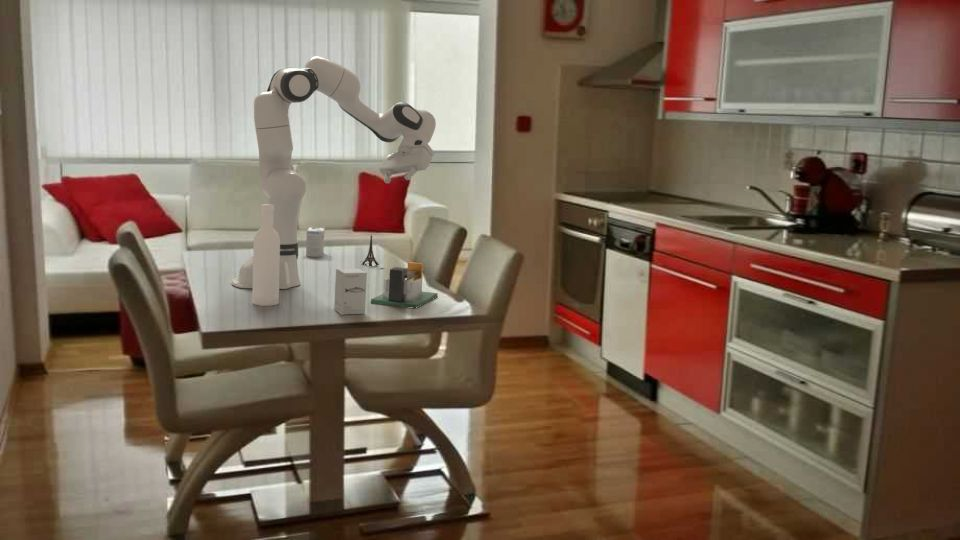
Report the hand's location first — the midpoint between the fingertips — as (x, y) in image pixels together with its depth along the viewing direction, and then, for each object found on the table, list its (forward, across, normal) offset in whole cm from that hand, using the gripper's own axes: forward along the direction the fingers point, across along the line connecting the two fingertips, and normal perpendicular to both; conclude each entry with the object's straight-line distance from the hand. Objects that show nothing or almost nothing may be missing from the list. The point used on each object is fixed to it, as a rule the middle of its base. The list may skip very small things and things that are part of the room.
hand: (396, 180), depth 292 cm
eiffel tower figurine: (+4, -42, +40) cm, 58 cm away
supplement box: (+56, +12, -2) cm, 57 cm away
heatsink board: (+38, +10, +17) cm, 43 cm away
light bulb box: (0, -73, +35) cm, 81 cm away
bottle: (+61, -12, -15) cm, 63 cm away
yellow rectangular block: (+33, +9, +17) cm, 39 cm away
